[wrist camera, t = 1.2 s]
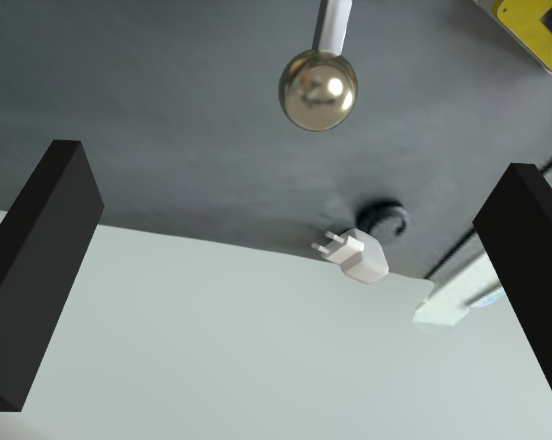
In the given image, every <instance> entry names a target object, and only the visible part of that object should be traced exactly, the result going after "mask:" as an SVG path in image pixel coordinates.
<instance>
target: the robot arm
mask: <svg viewBox="0 0 552 440" xmlns="http://www.w3.org/2000/svg"><path fill="white" fill-rule="evenodd" d="M103 209H104V204H103V201H102V198H101V196H100V193H99V190H98V187H97V185H96V182H95V179H94V176H93V174H92V171H91V168H90V165H89V162H88V160H87V157H86V154H85V151H84V149H83V146H82V143H81V141H73V140H53V142H52V143H51V145H50V146H49V148H48V150H47V151H46V153H45V154H44V156H43V157H42V159H41V161H40V162H39V164H38V165H37V167H36V168H35V170H34V172H33V173H32V175H31V176H30V178H29V179H28V181H27V183H26V184H25V186H24V187H23V189H22V190H21V192H20V194H19V195H18V197H17V198H16V200H15V202H14V203H13V205H12V206H11V208H10V209H9V211H8V213H7V214H6V216H5V218H4V219H3V221H2V222H1V224H0V412H21V411H22V408H23V406H24V403H25V401H26V398H27V396H28V393H29V391H30V388H31V386H32V383H33V381H34V379H35V376H36V374H37V371H38V369H39V366H40V364H41V361H42V359H43V357H44V354H45V352H46V349H47V347H48V344H49V342H50V339H51V337H52V334H53V332H54V330H55V327H56V325H57V322H58V320H59V317H60V315H61V312H62V310H63V307H64V305H65V302H66V300H67V298H68V295H69V292H70V290H71V288H72V285H73V283H74V280H75V278H76V275H77V273H78V271H79V268H80V266H81V263H82V261H83V258H84V256H85V253H86V251H87V248H88V246H89V243H90V241H91V239H92V236H93V234H94V231H95V229H96V226H97V224H98V221H99V219H100V217H101V214H102V212H103ZM472 223H473V225H474V227H475V229H476V231H477V233H478V235H479V238H480V240H481V242H482V244H483V246H484V248H485V250H486V252H487V254H488V257H489V259H490V261H491V263H492V265H493V267H494V269H495V271H496V273H497V276H498V278H499V280H500V282H501V284H502V286H503V288H504V290H505V293H506V295H507V297H508V299H509V301H510V303H511V305H512V307H513V309H514V312H515V313H516V316H517V318H518V320H519V322H520V324H521V326H522V328H523V331H524V333H525V335H526V337H527V339H528V341H529V343H530V345H531V347H532V349H533V352H534V354H535V356H536V358H537V360H538V362H539V364H540V367H541V368H542V371H543V373H544V375H545V377H546V379H547V381H548V383H549V385H550V388H551V390H552V188H551V187H550V185H549V184H548V182H547V181H546V180H545V178H544V177H543V175H542V174H541V173H540V171H539V170H538V168H537V167H536V166H535V164H523V163H510V165H509V167H508V168H507V170H506V171H505V173H504V174H503V176H502V177H501V179H500V180H499V182H498V183H497V185H496V186H495V188H494V189H493V191H492V193H491V194H490V196H489V197H488V199H487V200H486V202H485V203H484V205H483V206H482V208H481V209H480V211H479V212H478V214H477V215H476V217H475V219H474V220H473V222H472Z"/></svg>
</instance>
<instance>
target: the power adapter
mask: <svg viewBox="0 0 552 440" xmlns="http://www.w3.org/2000/svg"><path fill="white" fill-rule="evenodd" d="M324 235H325V236H327V237H329V238H331V239H334V240H333V241H332V242H330V243H329V244H328V245H326V246H325V247H323V246H321V245H319V244H317V243H315V242H311V243H310V247H312V248H314V249H317V250H319V251H322V253H321V257H323V258H324V259H326V260H329V261H331V262H333V263H335V264H338V265H340V267H341V270H342V271H343V273H344V274H345V275H346V276H348V277H350V278H353V279H355V280H357V281H360V282H362V283H365V284H372V283H374V282H376V281H377V280H379V279H381V278H383V277H384V276H386V275H387V274H388V270H389V269H388V265H387V262H386V259H385V256H384V253H383V251H382V248H381V245H380V243H379V242H378V241H377V239H375V238H374V237H372V236H370V235H368V234H366V233H364V232H362V231H360V230H358V229H356V228H355V229H350V230H348V231H347V232H345V233H343V234H341V235H340V236H337V235H335V234H334V233H332V232H330V231H325V233H324Z"/></svg>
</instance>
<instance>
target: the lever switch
mask: <svg viewBox="0 0 552 440" xmlns="http://www.w3.org/2000/svg"><path fill="white" fill-rule="evenodd" d="M352 1H353V0H321V3H320V8H319V13H318V19H317V24H316V29H315V34H314V39H313V44H312V49H310V50H307V51H304V52H302V53H300V54H298V55H297V56H295V57H294V58H293V59H292V60H291V61H290V62H289V63H288V64H287V66H286V67H285V69H284V71H283V73H282V75H281V78H280V81H279V87H278V96H279V102H280V105H281V108H282V110H283V112H284V114H285V115H286V116H287V118H288V119H289V120H290V121H291V122H292V123H293V124H295V125H296V126H298V127H299V128H301V129H304V130H307V131H312V132H322V131H327V130H330V129H332V128H334V127H336V126H338V125H339V124H341V123H342V122H343V121H344V120H345V119H346V118H347V117H348V116H349V115H350V113H351V112H352V110H353V108H354V106H355V103H356V100H357V95H358V82H357V78H356V74H355V72H354V70H353V68H352V66H351V64H350V63H349V62H348V61H347V60H346V59H345V58H344V57H343V56H342V55H341V50H342V46H343V41H344V37H345V32H346V28H347V23H348V19H349V14H350V10H351V5H352Z"/></svg>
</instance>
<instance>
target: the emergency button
mask: <svg viewBox="0 0 552 440" xmlns="http://www.w3.org/2000/svg"><path fill="white" fill-rule="evenodd" d="M473 1H474V2H475V3H476V4H477V5H478V6H479V7H480V8H481V9H482V10H483V11H484V12H485V13H486V14H487V15H488V16H489V17H490V18H491V19H492V20H493V21H494V22H495V23H497V24H498V25H499V26H500V27H501V28H502V29H503V30H504V31H505V32H506V33H507V34H508V35H509V36H510V37H511V38H512V39H513V40H514V41H515V42H516V43H517V44H518V45H519V46H520V47H521V48H523V49H524V50H525V51H526V52H527V53H528V54H529V55H530V56H531V57H532V58H533V59H534V60H535V61H536V62H537V63H538V64H539V65H540V66H541V67H542V68H543V69H544V70H546V71H547V72H548V73H550V74H552V0H473Z"/></svg>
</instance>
